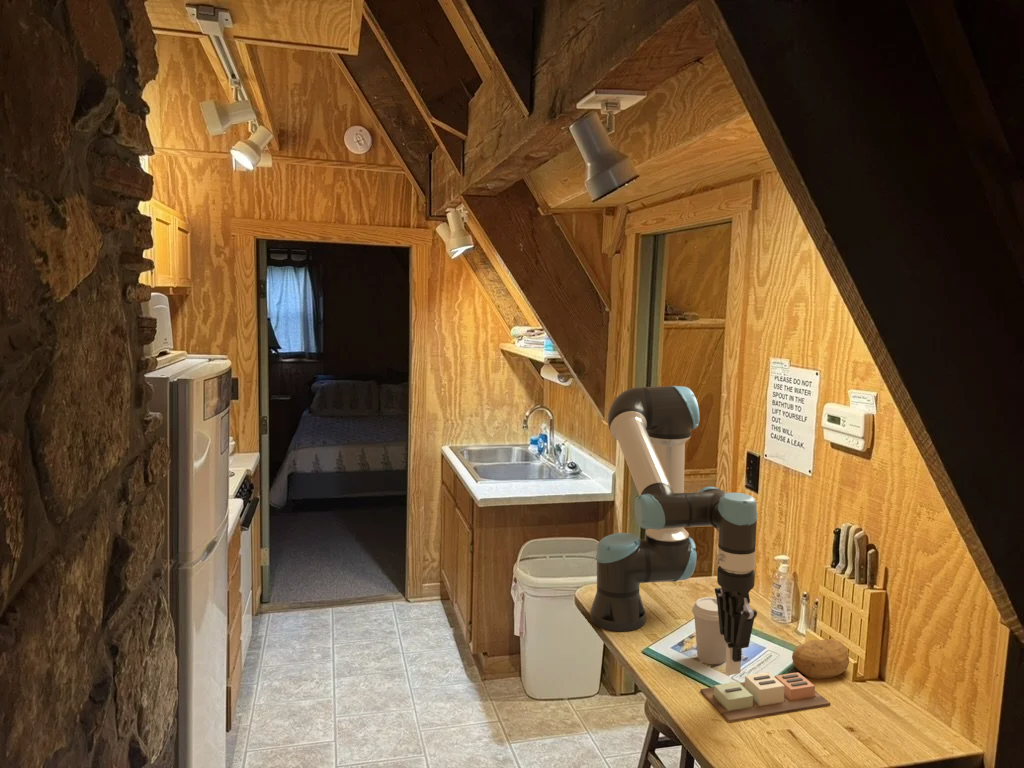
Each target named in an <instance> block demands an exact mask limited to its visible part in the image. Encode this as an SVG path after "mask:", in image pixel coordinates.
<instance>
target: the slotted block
mask: <svg viewBox="0 0 1024 768" xmlns="http://www.w3.org/2000/svg"><path fill="white" fill-rule="evenodd" d="M740 683H741V682H739V681H734V682H727V683H722V684H714V686H713V687H714V698H715V699H716V700H717V701H718V702H719V703H720V704H721V705H722V706H723V707H724V708H725V709H726V710H727V711H733V710H739V709H745V708H751V707H753V695H752V694H751V693H749V692H748V691H747V690H746V689H745V688H744V687H743V686H742V685H741V684H740Z"/></svg>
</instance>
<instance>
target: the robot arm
mask: <svg viewBox="0 0 1024 768" xmlns="http://www.w3.org/2000/svg"><path fill="white" fill-rule="evenodd" d="M699 423H700V409H699V403H698V400H697V398H696V395H695V394H694V392H693V390H691V388H690V387H687V386H680V385H679V386H678V385H663V386H661V385H660V386H645V387H644V386H643V387H642V386H635V387H632V388H629V389H626V390H624V391H623V392H621V393H620V394H618V395H617V397H616V398H615V399H614V400H613V401H612V404H611V405H610V406H609V409H608V414H607V426H608V429H609V431H610V433H611V436H612V437H613V439H615V440H617V442H618V444H619V447H620V450H621V452H622V455H623V457H624V459H625V462H626V466H627V467H628V470H629V472H630V475H631V477H632V480H633V483H634V485H635V489H636V491H637V493H638V496H636V498H635V500H634V514H635V521H636V523H637V525H638V526H639V528H641V529H645V538H642V539H641V538H640V537H639V536H638V535H637V534H635V533H631V532H629V533H627V532H617V533H612V534H609V535H606V536H604V537H603V538H601V539H600V540H599V541H598V542H597V546H596V556H595V559H596V592H595V593H596V594H595V596H594V599H593V602H592V606H591V608H590V621H591V622H592V623H593V625H595V626H596V627H599V628H601V629H603V630H607V631H610V632H611V631H612V632H629V631H631V632H632V631H634V630H638V629H640V628H642V627H643V626H645V624H646V621H647V619H646V617H647V614H646V609H645V606H644V603H643V600H642V598H641V594H640V584H645V583H646V584H647V583H664V582H666V583H667V582H671V583H675V582H678V581H679V582H680V581H686V580H689V579H690V578H691V577H692V576H693V574H694V573H695V570H696V566H697V558H698V557H697V555H698V554H697V551H696V549H697V545H696V543H695V541H694V539H693V538H692V537H690V533H689V532H688V531H687V530H686V529H685V528H697V527H713V528H715V530H716V531H718V538H717V539H718V542H717V546H718V548H717V551H718V552H717V556H716V557H717V565H718V566H717V573H716V574H717V576H716V578H717V580H716V582H717V584H718V586H720V587H715V588H714V594H715V596H716V597H715V598H717V606H718V616H719V627H720V634H721V635H724V640H725V641H726V661H725V669H724V670H725V673H726V674H728V676H731V675H738V674H741V666H742V662H741V661H742V653H743V652H742V650H743V649H744V648H746V649H747V648H749V647H750V641H751V638H752V636H751V635H752V631H753V627H754V622H755V619H756V617H757V615H758V612H757V609H752V607H751V605H750V604H751V599H750V594H749V593H750V592H751V590H752V589H754V587H755V579H756V576H755V575H756V574H755V572H756V571H755V568H756V551H757V550H756V546H757V544H756V543H757V528H758V527H757V525H758V517H759V516H758V510H757V509H758V507H757V500H756V499H755V497H754V496H752V495H751V494H750V495H749V494H746V493H742V492H727V491H725V490H722V489H720V488H718V487H715V486H706V487H703V488H701V489H700V490H698V491H697V492H696V491H695V492H693V491H692V492H685V457H686V454H685V451H686V448H685V447H686V443H687V442H688V441H689V440H690V438H692V430H693V431H694V430H695V429H697V428H698V427H699Z"/></svg>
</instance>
